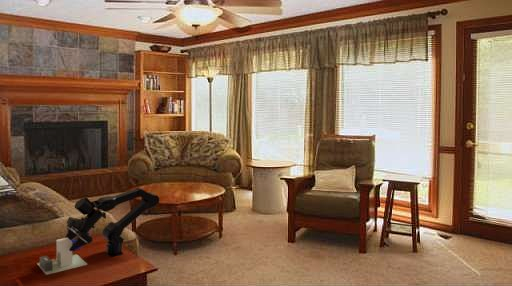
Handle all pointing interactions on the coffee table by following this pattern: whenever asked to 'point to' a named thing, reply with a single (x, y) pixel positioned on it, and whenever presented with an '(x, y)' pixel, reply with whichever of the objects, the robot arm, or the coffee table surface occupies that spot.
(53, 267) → the board
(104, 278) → the coffee table surface
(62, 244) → the plug housing
